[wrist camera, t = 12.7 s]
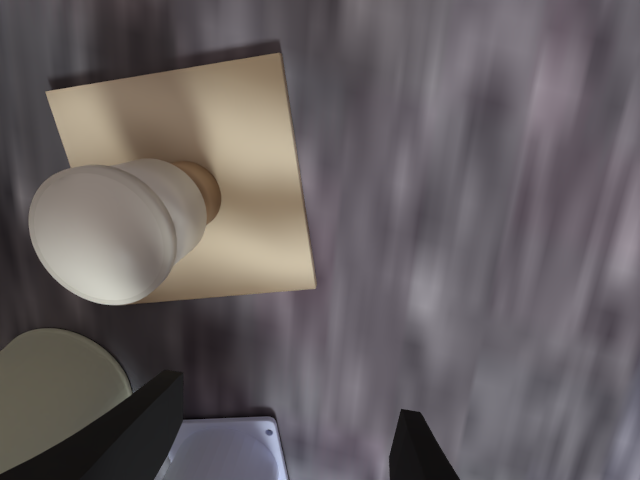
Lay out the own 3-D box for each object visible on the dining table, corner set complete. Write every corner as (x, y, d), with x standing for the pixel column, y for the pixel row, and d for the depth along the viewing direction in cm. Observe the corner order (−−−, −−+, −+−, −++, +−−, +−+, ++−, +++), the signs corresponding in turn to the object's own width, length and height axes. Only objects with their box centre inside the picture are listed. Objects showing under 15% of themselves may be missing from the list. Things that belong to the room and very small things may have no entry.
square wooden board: (316, 283, 22) (308, 320, 18) (123, 300, 23) (78, 337, 19) (282, 54, 18) (262, 39, 14) (54, 92, 20) (-19, 87, 16)
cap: (117, 133, 16) (43, 140, 12) (227, 185, 16) (188, 208, 12) (90, 234, 18) (17, 268, 14) (190, 280, 18) (146, 326, 14)
